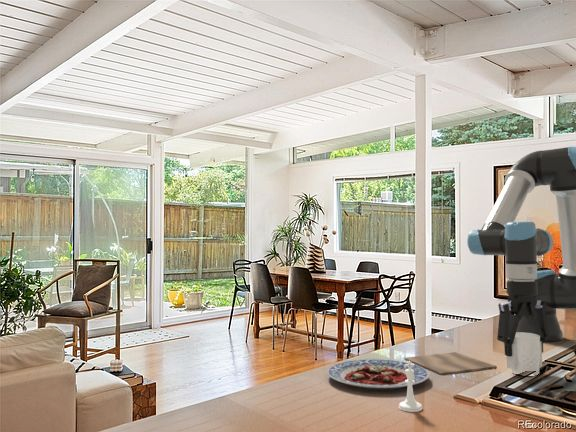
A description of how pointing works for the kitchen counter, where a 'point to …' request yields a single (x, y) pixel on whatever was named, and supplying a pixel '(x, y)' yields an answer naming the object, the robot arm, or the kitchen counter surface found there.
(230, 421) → the kitchen counter surface
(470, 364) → the plate
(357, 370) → the ceramic plate
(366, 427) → the kitchen counter surface
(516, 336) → the white cup
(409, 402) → the chess piece
